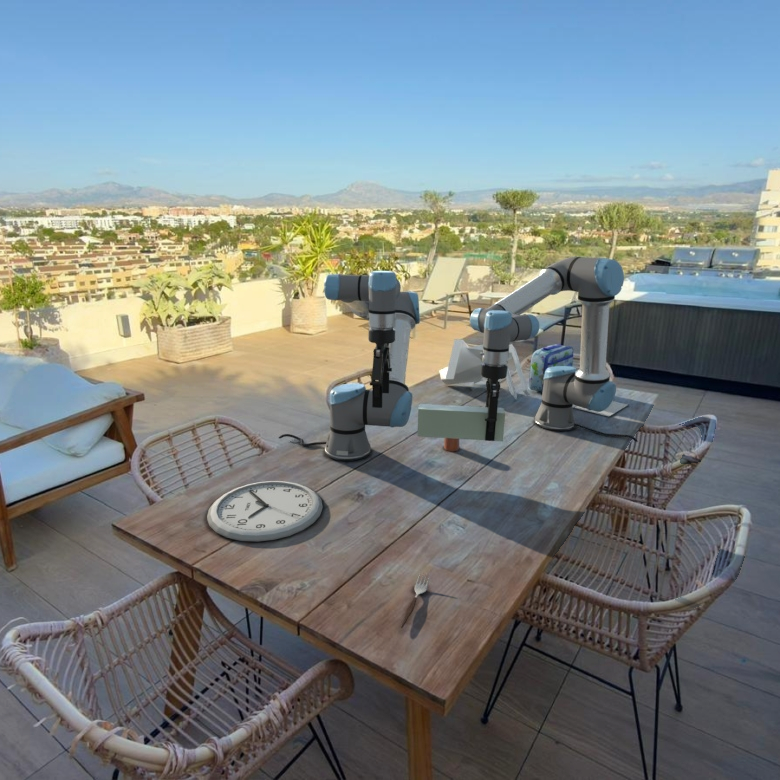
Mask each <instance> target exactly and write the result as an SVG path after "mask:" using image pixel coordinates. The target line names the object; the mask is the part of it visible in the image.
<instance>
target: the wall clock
mask: <svg viewBox="0 0 780 780" xmlns="http://www.w3.org/2000/svg"><path fill="white" fill-rule="evenodd" d="M323 507H324V506H323V501H322V498H321V497H320V495H318V492H316V491H314V490H312V489H311V488H310V487H308V486H306V485H302V484H299V483H297V482H291V481H281V480H269V481H268V480H267V481H258V482H253V483H248V484H245V485H242V486H239V487H235V488H233V489H232V490H229V491H228V492H226V493H224V494H223V495H221V496H220V497H219V498H217V499H216V500H215V501H214V502H213V503H212V504H211V505H210V507H209V509H208V512H207V514H206V515H207V516H206V520H207V523H208V525H209V527H210V528H211V529H212V530H213V531H214V532H215V533H216V534H218V535H220V536H223V537H224V538H227V539H231V540H236V541H239V542H240V541H241V542H258V543H259V542H264V541H265V542H267V541H276V540H278V539H283V538H287V537H290V536H293V535H295V534H298V533H301V532H302V531H305V529H308V528H309V527H310V526H311V525H313V524H314V523H315V522H316V521H317V520H318V519H319V518H320V516H321V514H322V511H323Z"/></svg>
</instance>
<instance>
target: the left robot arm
mask: <svg viewBox="0 0 780 780" xmlns="http://www.w3.org/2000/svg"><path fill="white" fill-rule="evenodd" d="M401 290H402V286H401V283H400V280H399V278H398V277H397V274H396V273H395V272H394V271H391V270H373V271H370V272H369V274H342V273H341V274H339V273H334V274H333V273H331V274H327V275H326V276H325V278H324V282H323V293H324V296H325V298H326V299H327V300H328V301H329V300H330V301H341V302H342V303H343V304H345V305H346V306H347V307H349V309H350V310H351V312H352V314H354V315H355V316H357V317H359V318H361V319H363V320H366V321H368V327H369V328H368V338H367V339H368V341H369V343H371V344H375V347H374V348H373V350H372V351H373V356H372V357H373V359H372V368H371V369H372V371H371V381H370V382H369V386H372V389H367V387H366V386H365V384H363V383H361V382H350V383H343V384H339V385H337V386H335V387H334V388H332V389H331V390H330V392H329V402H328V405H329V434H328V437H327V440H326V441H315V442H308V443H304V439H302V438H301V437H299V436H296V435H294V434H289V433H284V434H281V435H279V436H278V439H282V438H284V437H285V438H287V437H288V438H292V439H295V440H298V441H299V443H300V446H302V447H312V446H318V445H319V446H320V445H325V447H324V453H325V456H327V457H328V458H329V459H332V460H335V461H340V462H353V461H359V460H364V459H366V458H367V457H368V456H369V455H370V454H371V443H370V442H369V438H368V435H367V432H366V426H376V427H388V428H403V427H406V425H407V424H408V422H409V421H410V416H411V411H412V405H413V393H412V392H411V391H410V389H409V386H408V385H407V384H406V377H407V376H406V375H407V368H408V358H409V348H410V340H411V339H410V338H411V332H412V331H413V330H415V328H416V325H418V324H420V323H421V318H420V317H421V316H420V315H421V314H420V299H419V294H418V293H417V292H416V291H408V290H405V291H401Z"/></svg>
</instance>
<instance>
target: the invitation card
mask: <svg viewBox="0 0 780 780" xmlns="http://www.w3.org/2000/svg"><path fill="white" fill-rule="evenodd" d="M628 406H629V404H627V403H623V402H618V401H614V400H613V401H612V402H611V404H610V405H609V406H608V408H606V409H605V410H604V411H601V412H597V411H593V410H588V409H586V408H582V407H579V406H576V405H575V406H574V407H573V409H575V410H581V411H584V412H587V413H593V414H596V415H600V416H604V417H608V418H609V417H611V416H613V415H614V414H616V413H617V412H619V411H621V410H623V409H624V408H626V407H628Z"/></svg>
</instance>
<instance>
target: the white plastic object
mask: <svg viewBox="0 0 780 780" xmlns="http://www.w3.org/2000/svg"><path fill="white" fill-rule="evenodd" d="M481 352H483V344H479V345H473V346H469V345H468V343H466V342H465V340H464V339H463V338H460V339H458V338H454V340H453V344H452V349H451V353H450V357H449V362H448V366H446V367H444V368H442V369H440V370H439V371H438V372H439V376H440V381H442V383H443V384H444V385H445V386H449V385H458V384H467V383H468V384H469V383H473V384H477V383H480V382H482V381H484V377H483V376H482V375H481V368H482V364H483V362H482V357H483V355H480V354H481ZM510 360H513V363H514V366H515V369H516V372H517V376H518V380H519V382H520V385H521V389H522V391H523V393H524V395H525V396H526V397H528V396H531V395H530V389H529V388H528V387H529V386H528V384H527V381H526V378H525V375H524V371H523V369H522V368H523V367H522V366H521V362H520V359H519V355H518V352H517V349H516V347H515V346H514V345H513V343H509V357H508V361H510ZM506 365H507V366H508V367H507V376H506V378H505V380H506V383H507V386H508V390H509V393H510V394H511V395H512V397H513V398H514V399H515V400H517V392H516V391H517V390H516V388H515V385H514V381H513V378H512V375H511V371H510V369H509V365H508V363H507V364H506Z"/></svg>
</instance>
